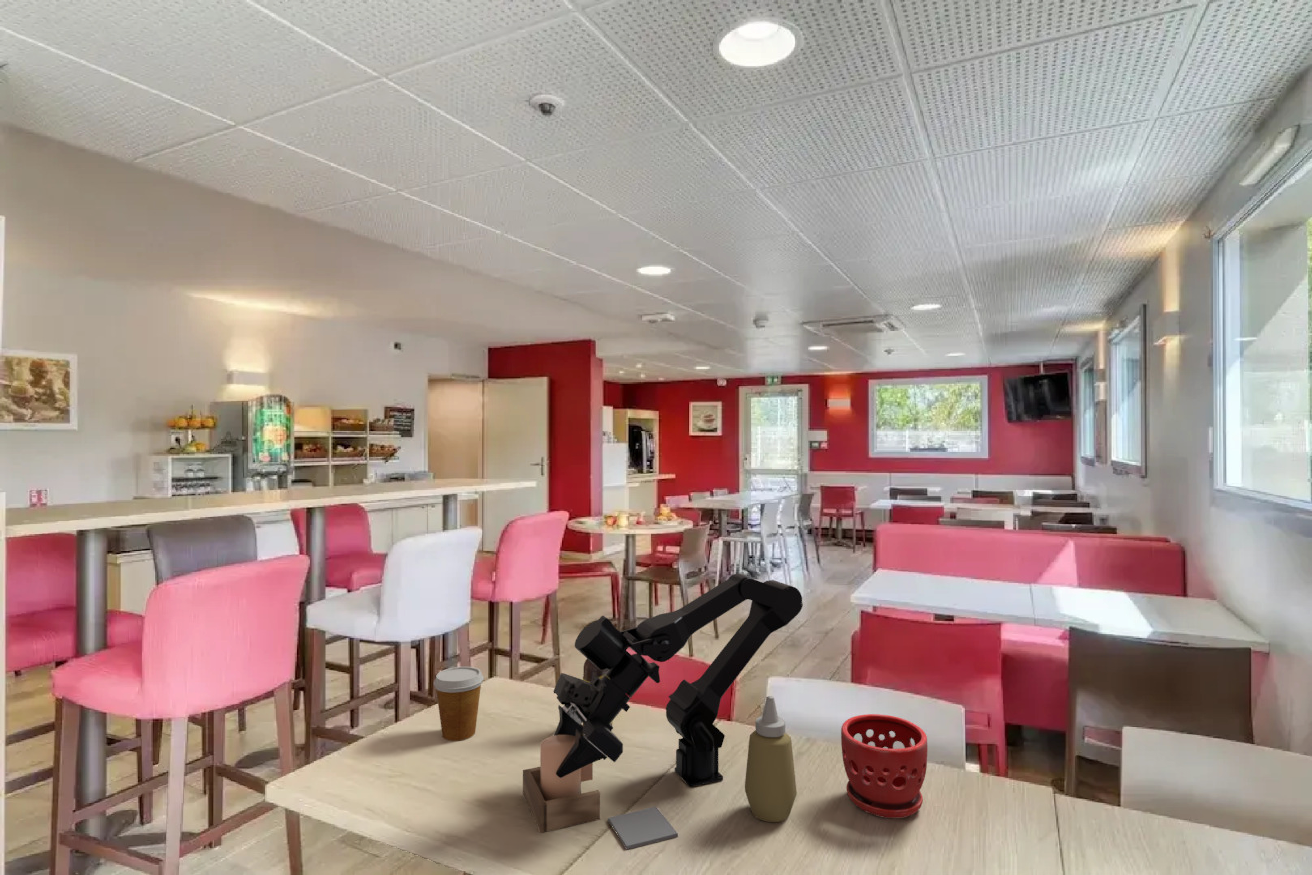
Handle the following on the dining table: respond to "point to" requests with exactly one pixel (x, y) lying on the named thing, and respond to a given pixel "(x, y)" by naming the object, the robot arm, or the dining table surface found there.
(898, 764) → the plant pot
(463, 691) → the disposable coffee cup
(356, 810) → the dining table surface
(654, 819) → the rubber mat
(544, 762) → the tan cylinder
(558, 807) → the open u-shaped wooden holder
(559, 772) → the robot arm
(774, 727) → the squeeze bottle
